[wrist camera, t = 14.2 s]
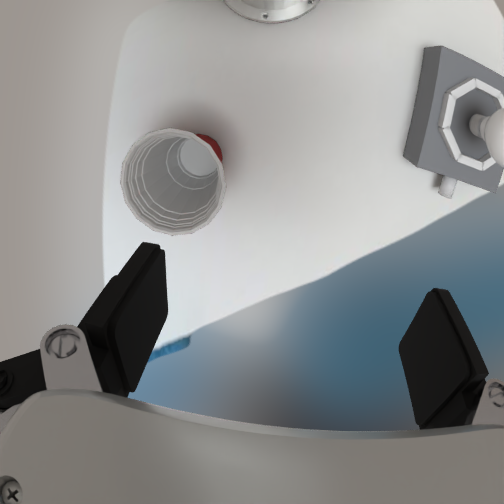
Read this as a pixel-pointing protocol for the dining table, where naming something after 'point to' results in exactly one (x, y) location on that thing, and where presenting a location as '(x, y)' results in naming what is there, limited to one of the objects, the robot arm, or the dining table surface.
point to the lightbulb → (491, 133)
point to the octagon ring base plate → (454, 120)
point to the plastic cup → (174, 181)
